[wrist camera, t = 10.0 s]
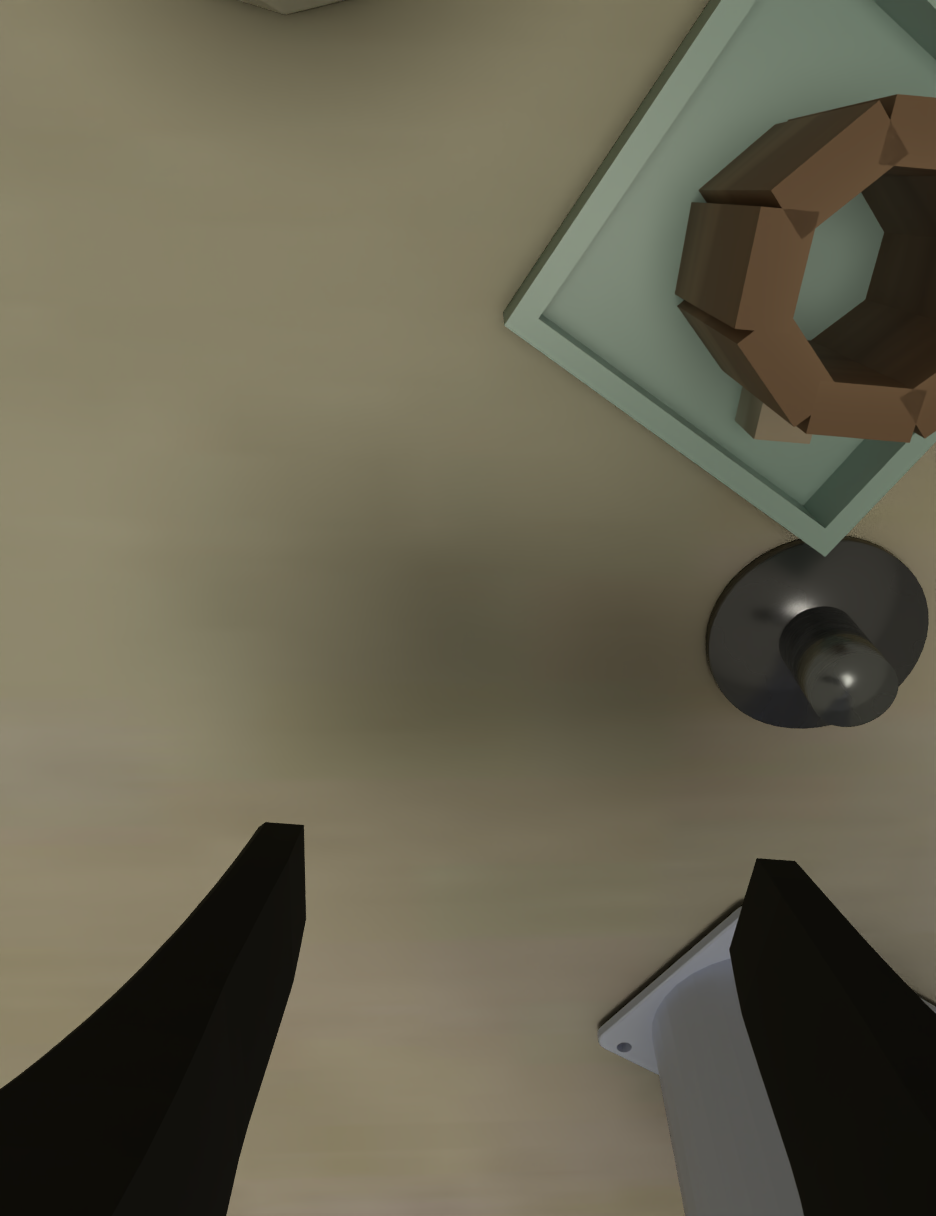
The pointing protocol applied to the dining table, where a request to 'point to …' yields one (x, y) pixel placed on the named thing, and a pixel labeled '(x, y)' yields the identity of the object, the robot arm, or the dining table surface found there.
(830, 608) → the dark grey round stand
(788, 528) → the tray
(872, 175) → the brown hollow octagonal cylinder
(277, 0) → the white cup
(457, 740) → the dining table surface
